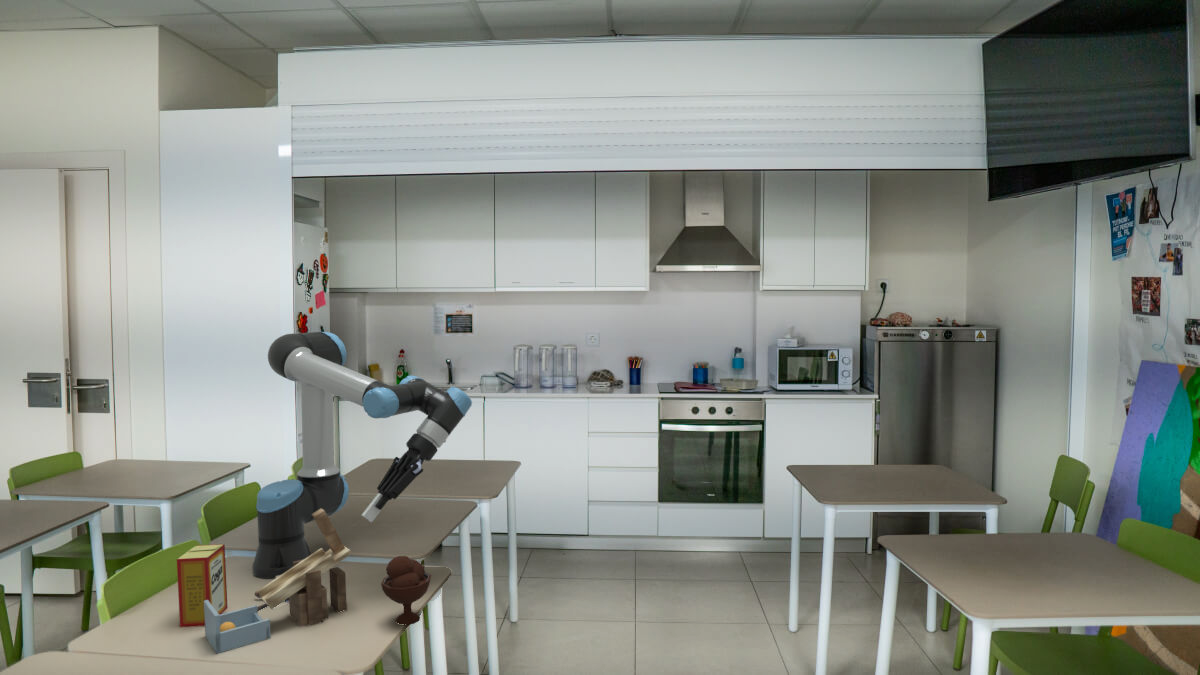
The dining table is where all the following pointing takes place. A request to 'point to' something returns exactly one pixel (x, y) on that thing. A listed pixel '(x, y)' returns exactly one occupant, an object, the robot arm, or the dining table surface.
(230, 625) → the ball
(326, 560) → the lever
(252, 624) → the bin
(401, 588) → the ice cream bowl
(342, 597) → the stand
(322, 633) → the dining table surface
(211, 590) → the baking soda box
